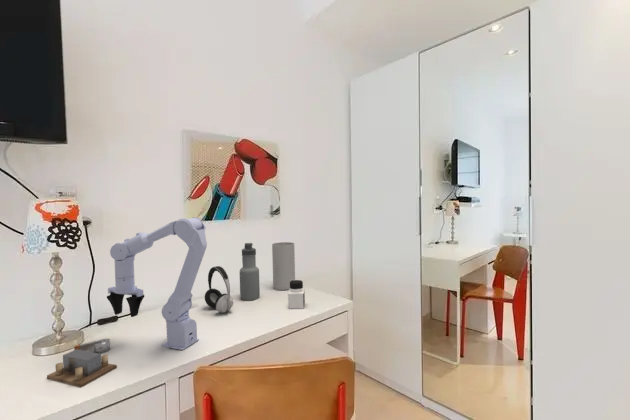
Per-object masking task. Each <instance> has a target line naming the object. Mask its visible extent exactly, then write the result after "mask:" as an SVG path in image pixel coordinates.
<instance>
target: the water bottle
mask: <svg viewBox="0 0 630 420" xmlns="http://www.w3.org/2000/svg"><path fill="white" fill-rule="evenodd" d="M253 246H254V245H253V243H252V242H244V247H243V248H242V249H241V256H242V257H241V259H242V267H241V268H240V269H239V298H240V299H241V300H243V301H255V300H257V299H259V298H260V295H261V294H260V292H261V290H260V268H259V267H257V265H256V263H257V262H256V261H257V260H256V257H257V256H256V255H257V250H256V248H255V247H253Z"/></svg>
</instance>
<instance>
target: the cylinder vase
mask: <svg viewBox="0 0 630 420" xmlns="http://www.w3.org/2000/svg"><path fill="white" fill-rule="evenodd" d="M271 244H272V245H271V254H272V282H273V283H272V286H273V289H274V290H277V291H289V290H290V281H292V280H296V264H295V263H296V261H295V259H296V258H295V255H296V254H295V243H294V242H289V241H288V242H287V241H285V242H284V241H283V242H273V243H271Z"/></svg>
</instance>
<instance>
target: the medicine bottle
mask: <svg viewBox="0 0 630 420" xmlns="http://www.w3.org/2000/svg"><path fill="white" fill-rule="evenodd" d="M303 283H304V282H303V281H302V280H300V279H295V280H292V281H290V290H288V293H287V302H288V303H287V304H288V305H287V307H288V309H289V310H290V309H291V310H292V309H305V305H306V298H305V296H306V295H305V293H306V292H305V289H304V287H303V286H304V285H303Z"/></svg>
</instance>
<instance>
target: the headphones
mask: <svg viewBox="0 0 630 420" xmlns="http://www.w3.org/2000/svg"><path fill="white" fill-rule="evenodd" d="M215 272H217V273H219V274H220V276H221V278H222V279H223V282H224V284H225V287H226V292H227V293H222V292H221V291H220V290H218V289H217V288H212V281H213V280H212V279H213V276H214V273H215ZM207 282H208V290H206V292H205V293H204V302H205V304H206V306H208V307H209V308H211V309H215V310H216V311H217V312H218V313H226V312H229V311H230V310H231V309H232V308H233V306H234V301H233V297H232V296H231V283H230V279H229V276H228V274H227V271H226V270H225V269H224V267H222V266H220V265H219V266H218V265H217V266H212V267H211V268H210V269H209V271H208V274H207Z"/></svg>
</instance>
